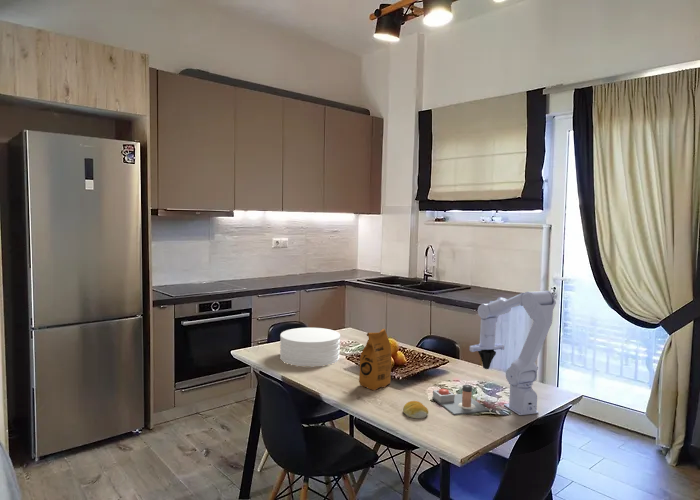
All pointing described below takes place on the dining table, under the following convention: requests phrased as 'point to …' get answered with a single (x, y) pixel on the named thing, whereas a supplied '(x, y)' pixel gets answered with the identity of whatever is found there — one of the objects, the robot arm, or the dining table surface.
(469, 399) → the spice jar
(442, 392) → the button
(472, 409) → the board
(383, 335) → the coffee package
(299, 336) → the plate stack
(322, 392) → the dining table surface
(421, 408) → the bread roll
